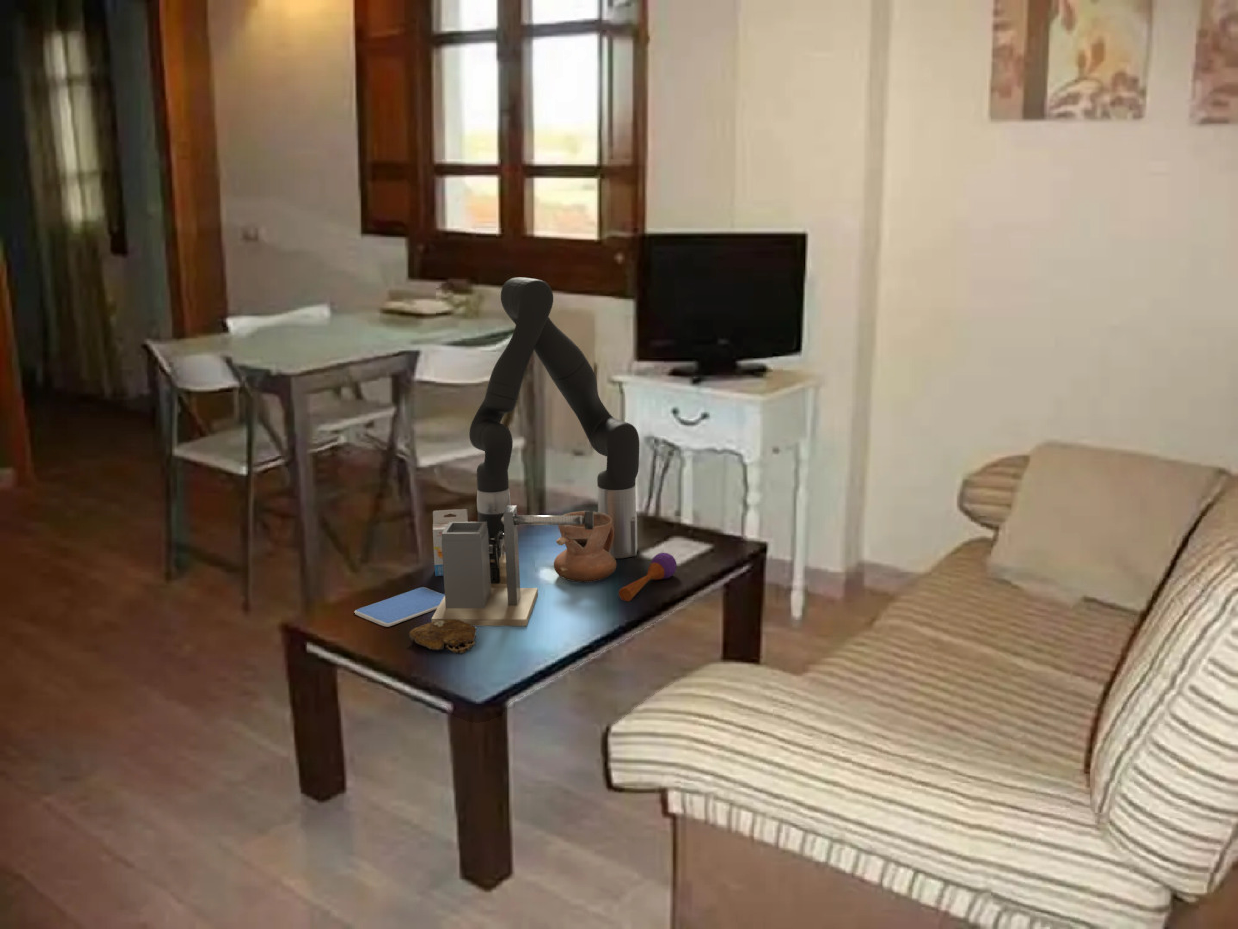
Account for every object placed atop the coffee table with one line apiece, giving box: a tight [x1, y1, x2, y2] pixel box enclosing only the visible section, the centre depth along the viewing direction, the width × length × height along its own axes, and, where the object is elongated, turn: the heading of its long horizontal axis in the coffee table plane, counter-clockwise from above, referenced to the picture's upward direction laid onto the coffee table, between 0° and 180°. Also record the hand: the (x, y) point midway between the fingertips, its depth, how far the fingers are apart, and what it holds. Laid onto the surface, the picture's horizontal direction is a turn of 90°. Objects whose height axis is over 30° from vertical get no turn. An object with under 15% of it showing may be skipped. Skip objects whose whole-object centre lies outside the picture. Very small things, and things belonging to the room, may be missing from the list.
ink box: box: [432, 508, 469, 577], centre depth 279 cm, size 8×5×15 cm, turn 98°
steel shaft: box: [501, 510, 594, 530], centre depth 252 cm, size 20×4×4 cm, turn 86°
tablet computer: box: [354, 586, 445, 628], centre depth 260 cm, size 19×13×1 cm, turn 138°
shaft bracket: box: [503, 504, 521, 606], centre depth 255 cm, size 2×5×21 cm, turn 176°
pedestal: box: [442, 521, 491, 609], centre depth 256 cm, size 8×8×17 cm
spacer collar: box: [491, 554, 507, 588], centre depth 271 cm, size 6×6×6 cm
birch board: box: [431, 587, 539, 627], centre depth 258 cm, size 20×18×2 cm
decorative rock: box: [408, 619, 477, 655], centre depth 241 cm, size 11×4×15 cm
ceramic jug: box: [553, 510, 618, 583], centre depth 275 cm, size 18×14×14 cm
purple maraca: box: [618, 552, 678, 602], centre depth 269 cm, size 6×6×20 cm
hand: (497, 578), depth 272 cm, fingers closed on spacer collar, 5 cm apart
